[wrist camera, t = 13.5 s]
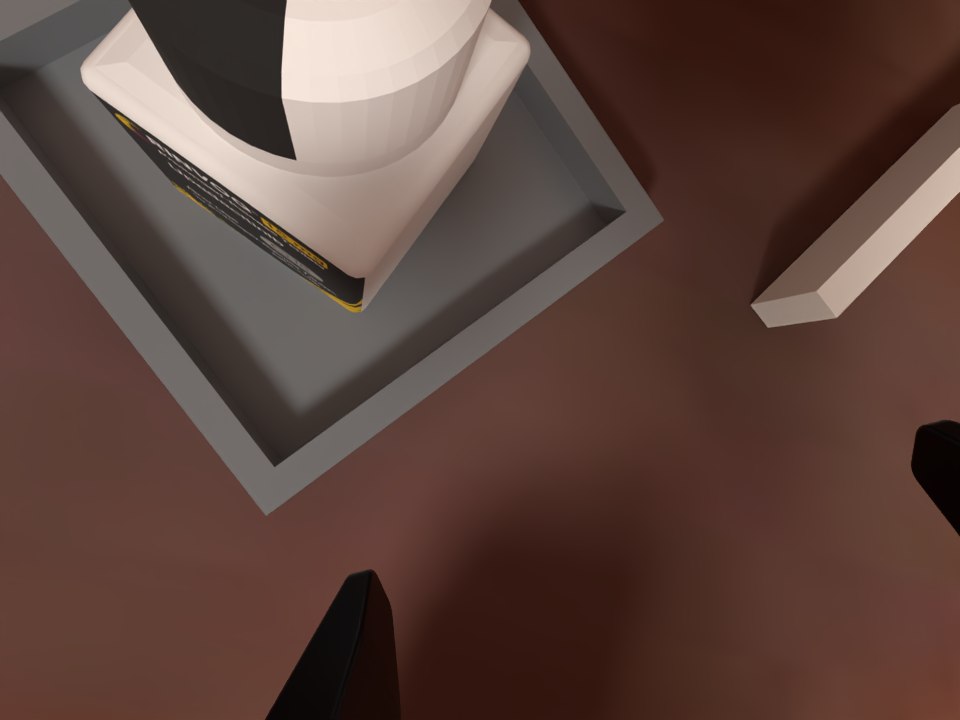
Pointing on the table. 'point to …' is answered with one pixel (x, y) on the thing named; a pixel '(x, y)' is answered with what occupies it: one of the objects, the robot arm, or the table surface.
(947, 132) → the bay
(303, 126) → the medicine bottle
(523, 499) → the table surface
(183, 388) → the tray
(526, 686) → the table surface
